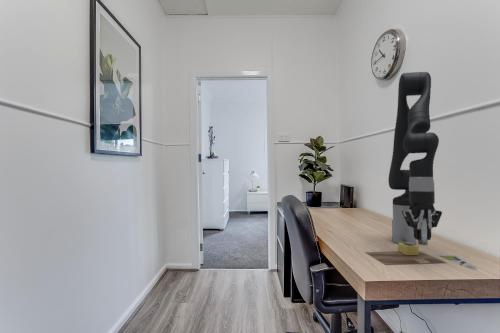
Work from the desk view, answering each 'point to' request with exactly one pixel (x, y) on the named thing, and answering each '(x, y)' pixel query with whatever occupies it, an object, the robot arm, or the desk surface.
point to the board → (402, 258)
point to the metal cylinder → (423, 233)
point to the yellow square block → (408, 248)
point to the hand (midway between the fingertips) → (422, 239)
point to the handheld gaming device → (457, 260)
